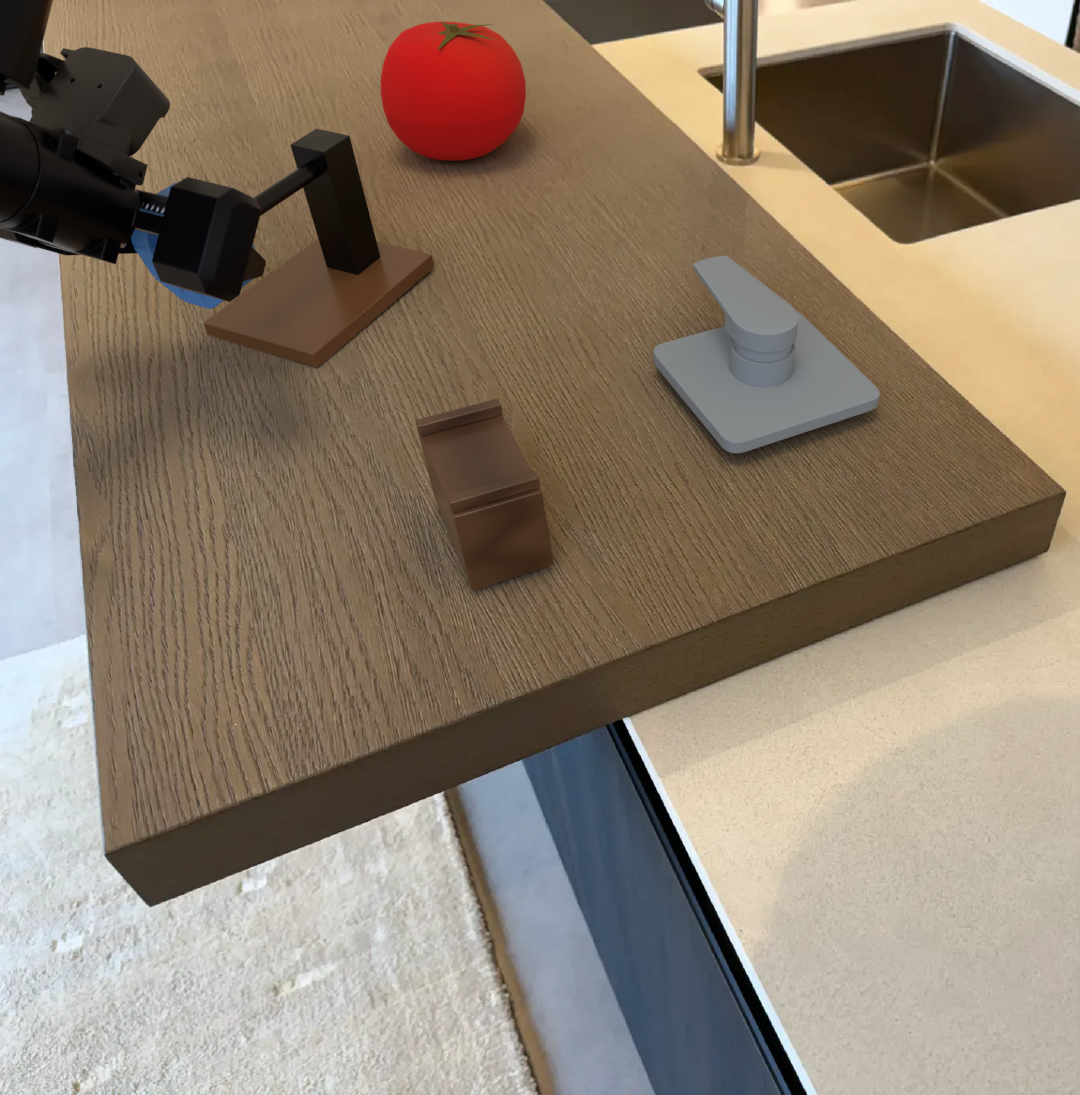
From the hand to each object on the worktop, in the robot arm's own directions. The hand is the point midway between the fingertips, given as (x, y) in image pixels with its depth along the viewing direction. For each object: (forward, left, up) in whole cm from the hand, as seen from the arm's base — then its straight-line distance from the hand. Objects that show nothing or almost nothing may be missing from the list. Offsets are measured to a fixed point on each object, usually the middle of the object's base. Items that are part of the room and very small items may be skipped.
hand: (216, 256), depth 70 cm
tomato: (+28, +22, -8) cm, 37 cm away
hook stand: (+7, +4, -8) cm, 12 cm away
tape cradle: (+5, -26, -8) cm, 28 cm away
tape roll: (-1, -1, -2) cm, 3 cm away
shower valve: (+28, -23, -8) cm, 38 cm away
